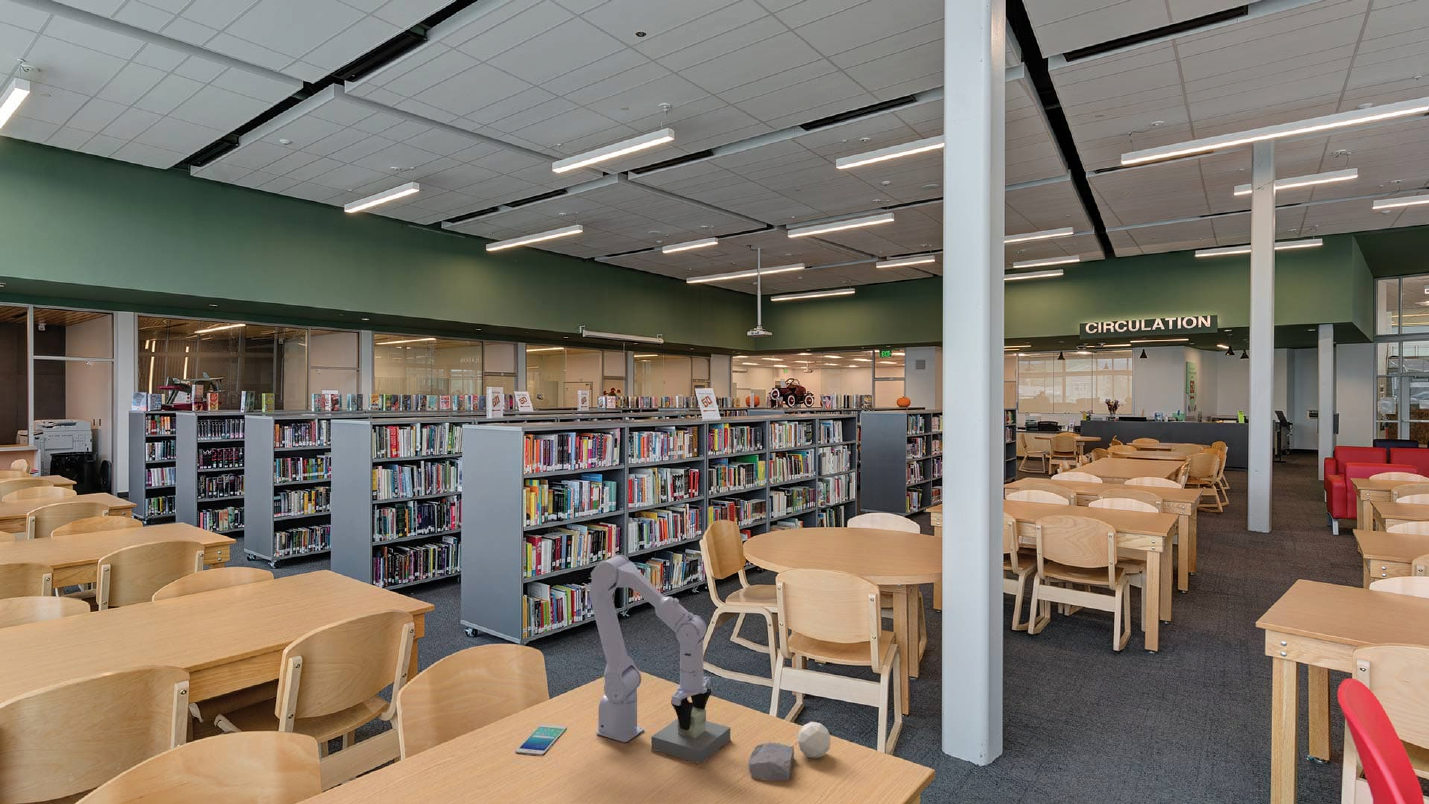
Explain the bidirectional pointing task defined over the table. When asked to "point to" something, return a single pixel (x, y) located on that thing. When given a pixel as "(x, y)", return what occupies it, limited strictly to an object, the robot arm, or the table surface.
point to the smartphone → (541, 739)
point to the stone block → (771, 761)
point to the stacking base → (691, 742)
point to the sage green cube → (695, 723)
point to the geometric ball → (814, 740)
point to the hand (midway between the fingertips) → (691, 724)
